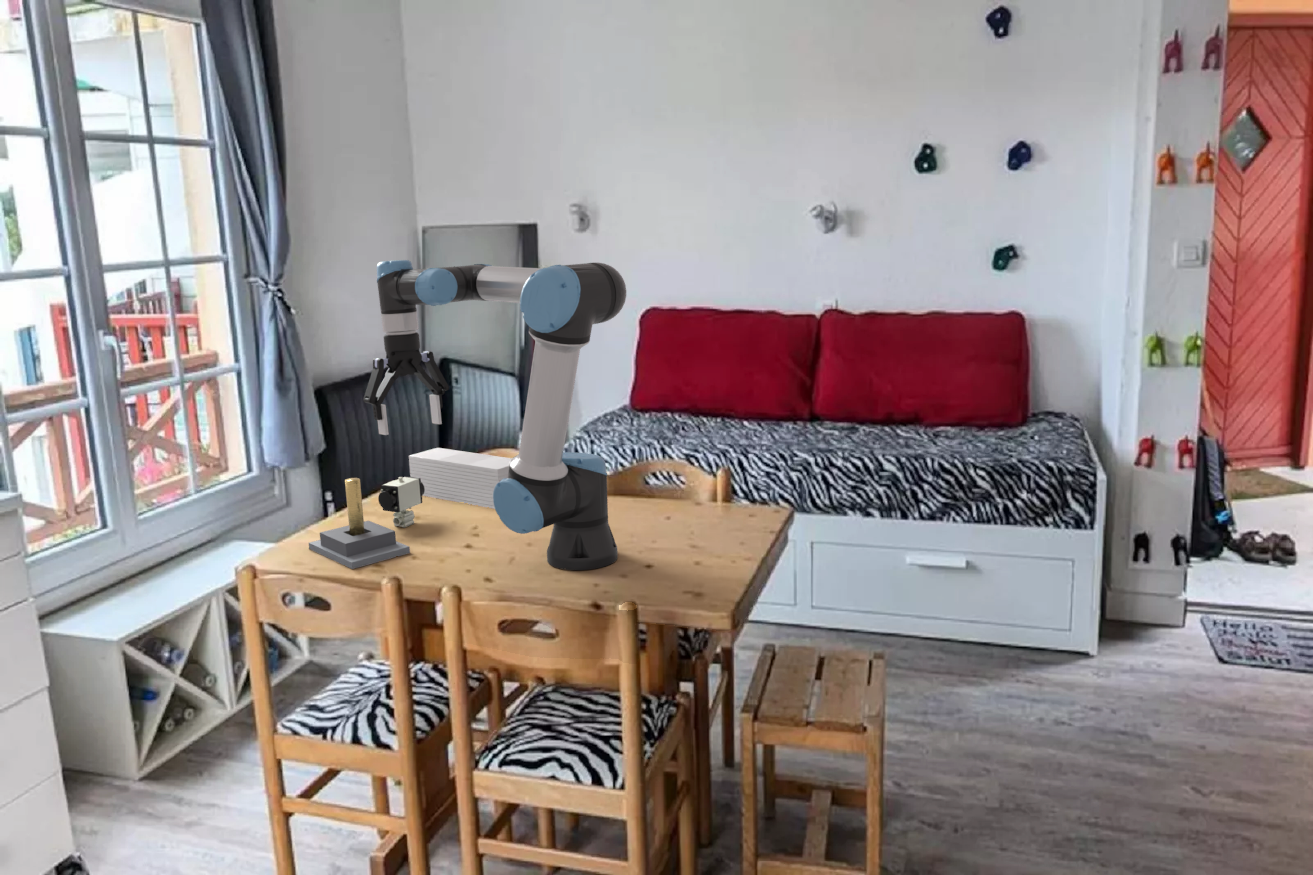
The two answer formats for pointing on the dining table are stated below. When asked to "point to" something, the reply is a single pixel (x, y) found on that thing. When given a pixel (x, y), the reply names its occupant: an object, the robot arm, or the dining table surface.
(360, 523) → the brass pin
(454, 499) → the stack of papers
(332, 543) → the grey socket base
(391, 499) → the pneumatic valve
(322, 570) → the dining table surface
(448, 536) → the dining table surface
